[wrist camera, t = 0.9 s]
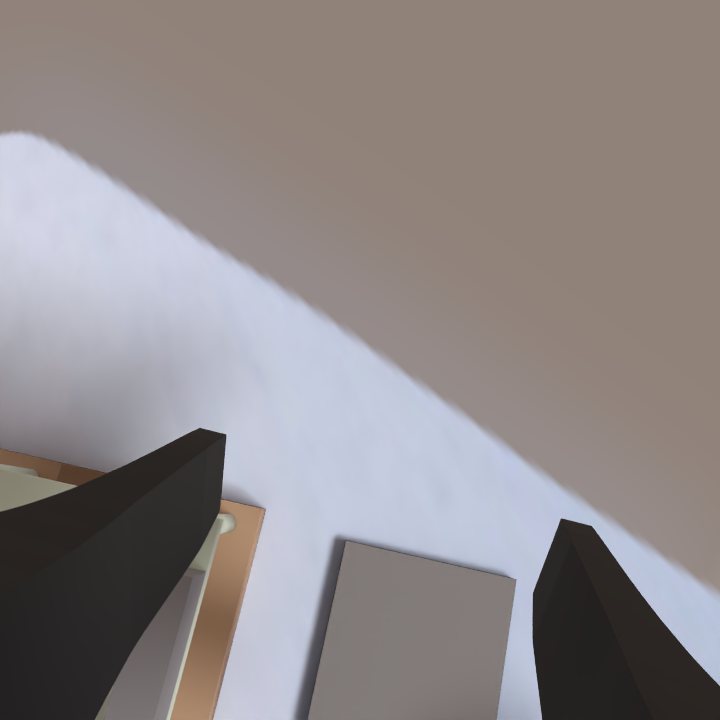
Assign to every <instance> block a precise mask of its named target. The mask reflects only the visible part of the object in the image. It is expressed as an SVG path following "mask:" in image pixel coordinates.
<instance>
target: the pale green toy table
mask: <svg viewBox="0 0 720 720" xmlns="http://www.w3.org/2000/svg"><path fill="white" fill-rule="evenodd" d="M74 487H77V486H75V485H71V484H67V483H62V482H58V481H53V480H49V479H45V478H40V477H38V473H37V472H36V471H35V470H33V469H29V468H22V467H16V466H10V465H4V464H0V512H1V511H4V510H8V509H12V508H15V507H19V506H23V505H26V504H29V503H32V502H35V501H38V500H41V499H44V498H47V497H50V496H53V495H56V494H58V493H61V492H64V491H66V490H69V489H72V488H74ZM236 526H237V520H236V518H235V517H234V516H233V515H231V514H218V516H217V518H216V520H215V522H214V524H213V526H212V528H211V530H210V532H209V534H208V536H207V538H206V540H205V541H204V543H203V545H202V547H201V549H200V551H199V552H198V554H197V555H196V557H195V558H194V560H193V561H192V563H191V564H190V566H189V567H188V569H187V570H186V572H185V573H184V575H183V576H182V578H181V579H180V581H179V582H178V583H177V585H176V586H175V588H174V589H173V591H172V592H171V594H170V595H169V597H168V598H167V599H166V601H165V602H164V604H163V605H162V607H161V608H160V610H159V611H158V613H157V614H156V615H155V617H154V618H153V620H152V621H151V623H150V624H149V626H148V627H147V629H146V630H145V631H144V633H143V634H142V636H141V638H140V639H139V641H138V642H137V644H136V646H135V647H134V649H133V650H132V652H131V654H130V655H129V657H128V659H127V661H126V663H125V665H124V666H123V668H122V670H121V672H120V674H119V675H118V677H117V679H116V681H115V683H114V685H113V686H112V688H111V690H110V692H109V694H108V696H107V697H106V699H105V701H104V703H103V705H102V707H101V709H100V711H99V713H98V715H97V716H96V718H95V720H170V718H171V714H172V710H173V707H174V703H175V699H176V695H177V692H178V688H179V684H180V681H181V677H182V673H183V669H184V666H185V662H186V658H187V655H188V651H189V647H190V643H191V640H192V636H193V632H194V628H195V625H196V621H197V617H198V614H199V610H200V606H201V602H202V599H203V595H204V591H205V588H206V584H207V580H208V576H209V573H210V569H211V565H212V561H213V558H214V554H215V550H216V547H217V543H218V539H219V535H220V534H224V533H230V532H232V531H233V530H234V529H235V528H236Z"/></svg>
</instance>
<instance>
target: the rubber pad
mask: <svg viewBox="0 0 720 720" xmlns="http://www.w3.org/2000/svg"><path fill="white" fill-rule="evenodd" d="M515 586H516V579H513V578H508V577H504V576H500V575H495V574H491V573H486V572H482V571H478V570H473V569H469V568H464V567H460V566H456V565H451V564H447V563H443V562H438V561H434V560H429V559H425V558H421V557H416V556H412V555H407V554H403V553H399V552H394V551H390V550H385V549H381V548H377V547H372V546H368V545H364V544H359V543H355V542H350V541H346V543H345V547H344V552H343V556H342V561H341V566H340V570H339V575H338V579H337V584H336V589H335V593H334V598H333V603H332V607H331V612H330V616H329V621H328V626H327V630H326V635H325V640H324V644H323V649H322V653H321V658H320V663H319V667H318V672H317V677H316V681H315V686H314V690H313V695H312V700H311V704H310V709H309V713H308V718H307V720H496V718H497V711H498V704H499V697H500V690H501V683H502V676H503V669H504V662H505V655H506V649H507V642H508V635H509V628H510V621H511V614H512V607H513V600H514V593H515Z"/></svg>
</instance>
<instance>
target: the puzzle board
mask: <svg viewBox="0 0 720 720" xmlns="http://www.w3.org/2000/svg"><path fill="white" fill-rule="evenodd" d="M0 464H4V465H10V466H16V467H22V468H29V469H33V470H35V471H36V472H37V473H38V477H40V478H45V479H49V480H53V481H58V482H62V483H67V484H71V485H75V486H79V485H82V484H84V483H86V482H89V481H91V480H93V479H96V478H98V477H100V476H102V475H105V474H107V473H104V472H100V471H95V470H91V469H86V468H82V467H78V466H73V465H69V464H65V463H60V462H56V461H51V460H47V459H43V458H38V457H34V456H29V455H25V454H21V453H16V452H12V451H7V450H3V449H0ZM265 511H266V509H262V508H258V507H253V506H249V505H245V504H240V503H236V502H232V501H227V500H223V499H221V505H220V511H219V513H218V514H231V515H233V516H234V517H235V518H236V520H237V526H236V528H235V529H234V530H233V531H232V532H230V533H224V534H220V535H219V539H218V543H217V547H216V550H215V554H214V558H213V561H212V565H211V569H210V573H209V576H208V580H207V584H206V588H205V591H204V595H203V599H202V602H201V606H200V610H199V614H198V617H197V621H196V625H195V628H194V632H193V636H192V640H191V643H190V647H189V651H188V655H187V658H186V662H185V666H184V669H183V673H182V677H181V681H180V684H179V688H178V692H177V695H176V699H175V703H174V707H173V710H172V714H171V718H170V720H213V717H214V713H215V709H216V705H217V701H218V697H219V693H220V689H221V685H222V681H223V677H224V673H225V669H226V665H227V661H228V658H229V654H230V650H231V646H232V642H233V638H234V634H235V630H236V626H237V622H238V618H239V614H240V610H241V606H242V602H243V598H244V594H245V590H246V586H247V582H248V578H249V574H250V570H251V566H252V562H253V558H254V555H255V551H256V547H257V543H258V539H259V535H260V531H261V527H262V523H263V519H264V515H265Z"/></svg>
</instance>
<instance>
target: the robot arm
mask: <svg viewBox="0 0 720 720" xmlns="http://www.w3.org/2000/svg"><path fill="white" fill-rule="evenodd" d="M225 445H226V434H222V433H218V432H214V431H210V430H206V429H202V428H199V429H197V430H195V431H192V432H190V433H188V434H186V435H184V436H182V437H180V438H178V439H176V440H175V441H173V442H171V443H169V444H167V445H165V446H163V447H161V448H159V449H157V450H155V451H153V452H151V453H149V454H147V455H145V456H143V457H141V458H139V459H137V460H135V461H133V462H131V463H129V464H127V465H125V466H123V467H120V468H118V469H116V470H114V471H111V472H109V473H107V474H105V475H102V476H100V477H98V478H96V479H93V480H91V481H89V482H86V483H84V484H82V485H79V486H77V487H74V488H72V489H69V490H66V491H64V492H61V493H58V494H56V495H53V496H50V497H47V498H44V499H41V500H38V501H35V502H32V503H29V504H26V505H23V506H19V507H15V508H12V509H8V510H4V511H1V512H0V720H95V718H96V716H97V715H98V713H99V711H100V709H101V707H102V705H103V703H104V701H105V699H106V697H107V696H108V694H109V692H110V690H111V688H112V686H113V685H114V683H115V681H116V679H117V677H118V675H119V674H120V672H121V670H122V668H123V666H124V665H125V663H126V661H127V659H128V657H129V655H130V654H131V652H132V650H133V649H134V647H135V646H136V644H137V642H138V641H139V639H140V638H141V636H142V634H143V633H144V631H145V630H146V629H147V627H148V626H149V624H150V623H151V621H152V620H153V618H154V617H155V615H156V614H157V613H158V611H159V610H160V608H161V607H162V605H163V604H164V602H165V601H166V599H167V598H168V597H169V595H170V594H171V592H172V591H173V589H174V588H175V586H176V585H177V583H178V582H179V581H180V579H181V578H182V576H183V575H184V573H185V572H186V570H187V569H188V567H189V566H190V564H191V563H192V561H193V560H194V558H195V557H196V555H197V554H198V552H199V551H200V549H201V547H202V545H203V543H204V541H205V540H206V538H207V536H208V534H209V532H210V530H211V528H212V526H213V524H214V522H215V520H216V518H217V516H218V513H219V511H220V505H221V493H222V481H223V469H224V457H225ZM533 648H534V656H535V665H536V673H537V681H538V689H539V697H540V705H541V713H542V720H720V686H719V685H718V684H717V683H716V682H715V681H714V680H713V679H712V677H711V676H710V675H709V674H708V673H707V672H706V671H705V670H704V669H703V668H702V667H701V666H700V665H699V664H698V663H697V662H696V660H695V659H694V658H693V657H692V656H691V655H690V654H689V653H688V652H687V650H686V649H685V648H684V647H683V646H682V644H681V643H680V642H679V641H678V640H677V639H676V637H675V636H674V635H673V634H672V633H671V631H670V630H669V629H668V628H667V627H666V625H665V624H664V623H663V622H662V620H661V619H660V618H659V617H658V615H657V614H656V613H655V612H654V610H653V609H652V608H651V607H650V605H649V604H648V603H647V601H646V600H645V599H644V597H643V596H642V595H641V593H640V592H639V591H638V589H637V588H636V587H635V585H634V584H633V583H632V581H631V580H630V579H629V577H628V576H627V574H626V573H625V572H624V570H623V569H622V567H621V566H620V565H619V563H618V562H617V560H616V559H615V558H614V556H613V555H612V553H611V552H610V551H609V549H608V548H607V546H606V545H605V544H604V542H603V541H602V539H601V538H600V537H599V535H598V534H597V532H596V531H595V530H594V529H593V527H592V526H589V525H585V524H581V523H577V522H573V521H569V520H565V519H561V520H560V523H559V526H558V528H557V531H556V534H555V536H554V539H553V542H552V544H551V547H550V550H549V552H548V555H547V557H546V560H545V563H544V565H543V568H542V571H541V573H540V576H539V579H538V581H537V584H536V587H535V589H534V592H533Z"/></svg>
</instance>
